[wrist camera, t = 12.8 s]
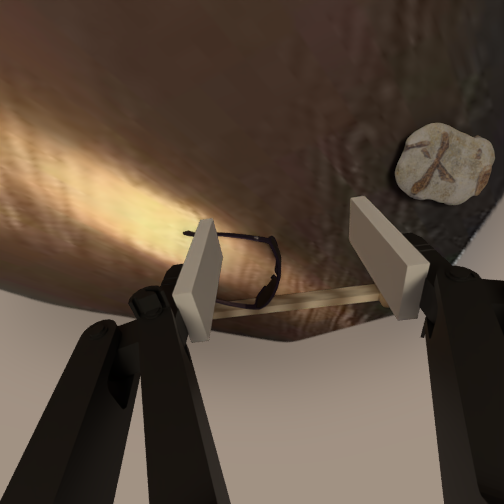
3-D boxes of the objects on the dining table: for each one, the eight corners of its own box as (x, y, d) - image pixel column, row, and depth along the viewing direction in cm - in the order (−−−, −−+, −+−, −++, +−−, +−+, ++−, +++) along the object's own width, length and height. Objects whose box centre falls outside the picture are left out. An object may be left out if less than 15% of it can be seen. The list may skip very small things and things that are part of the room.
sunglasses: (270, 295, 49) (272, 316, 45) (183, 286, 48) (176, 306, 44) (285, 229, 42) (289, 246, 38) (183, 216, 41) (174, 232, 37)
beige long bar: (204, 311, 51) (201, 327, 48) (196, 287, 48) (192, 303, 45) (383, 290, 48) (393, 306, 45) (387, 264, 45) (398, 278, 42)
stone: (378, 188, 38) (388, 195, 35) (409, 116, 34) (423, 117, 31) (457, 205, 39) (473, 213, 36) (497, 137, 35) (519, 140, 32)
